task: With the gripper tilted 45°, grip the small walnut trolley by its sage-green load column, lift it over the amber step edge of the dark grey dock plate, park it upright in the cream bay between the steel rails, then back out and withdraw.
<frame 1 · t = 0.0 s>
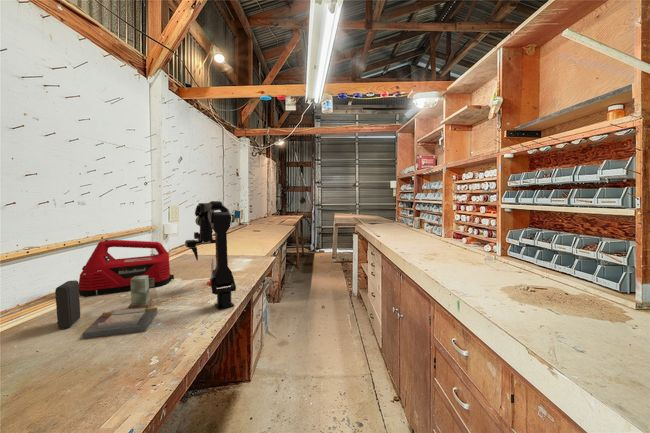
hand: (206, 259, 143), 15 cm above the workbench, tool pointing down, fingers open, 9 cm apart
dock plate: (123, 324, 104), on the workbench
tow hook: (218, 284, 151), on the workbench
trolley: (141, 308, 118), on the workbench
card reader: (69, 324, 104), on the workbench
power tool: (129, 287, 145), on the workbench
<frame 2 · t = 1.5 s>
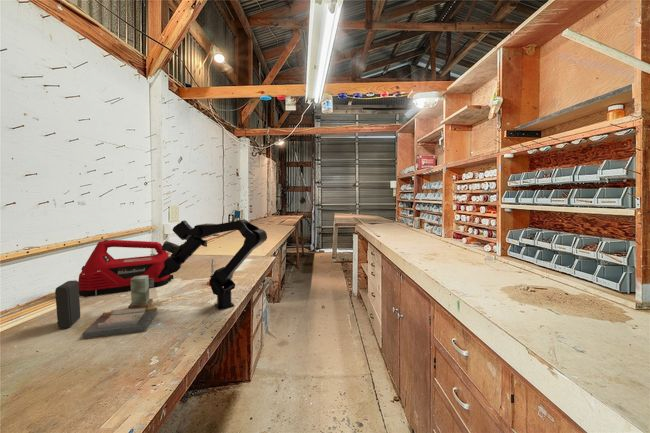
hand: (161, 274, 120), 13 cm above the workbench, tool tilted 45°, fingers open, 9 cm apart
nothing on the workbench moved.
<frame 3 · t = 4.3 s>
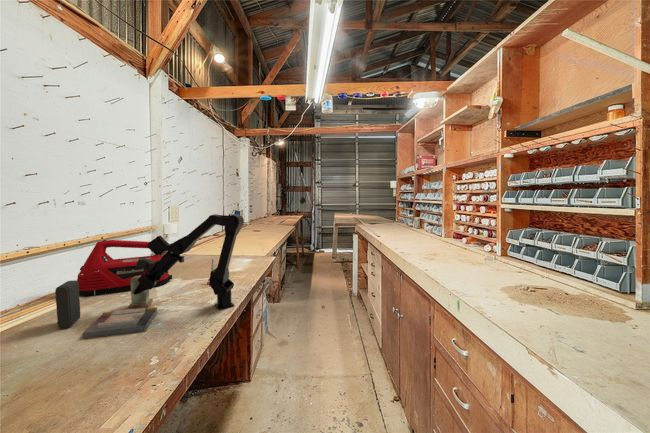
hand: (136, 291, 117), 7 cm above the workbench, tool tilted 45°, fingers closed on trolley, 5 cm apart
trolley: (141, 308, 118), on the workbench, touching gripper
when the fingers open (10 cm above the workbench, at t = 9.1 s): trolley stays where it is, resting on dock plate.
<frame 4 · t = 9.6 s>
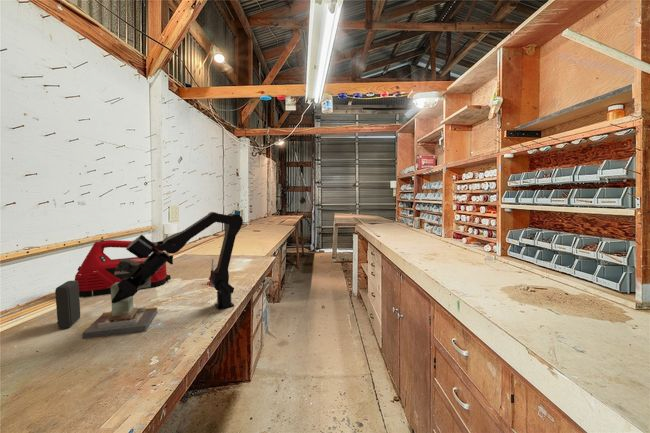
hand: (117, 297, 102), 10 cm above the workbench, tool tilted 45°, fingers open, 9 cm apart
trolley: (123, 318, 103), point 2 cm above the workbench, touching dock plate
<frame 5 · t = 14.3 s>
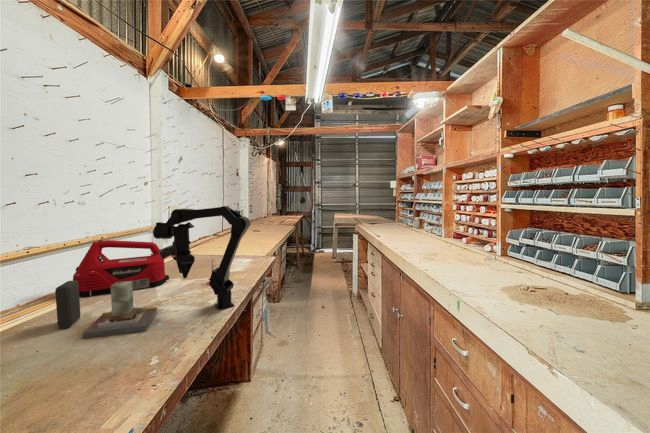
hand: (182, 275, 120), 13 cm above the workbench, tool pointing down, fingers open, 9 cm apart
at the end: trolley 0.0 cm off-centre on the dock plate, point 2.2 cm above the dock plate's base; trolley tilted 0°; the gripper is holding nothing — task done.
